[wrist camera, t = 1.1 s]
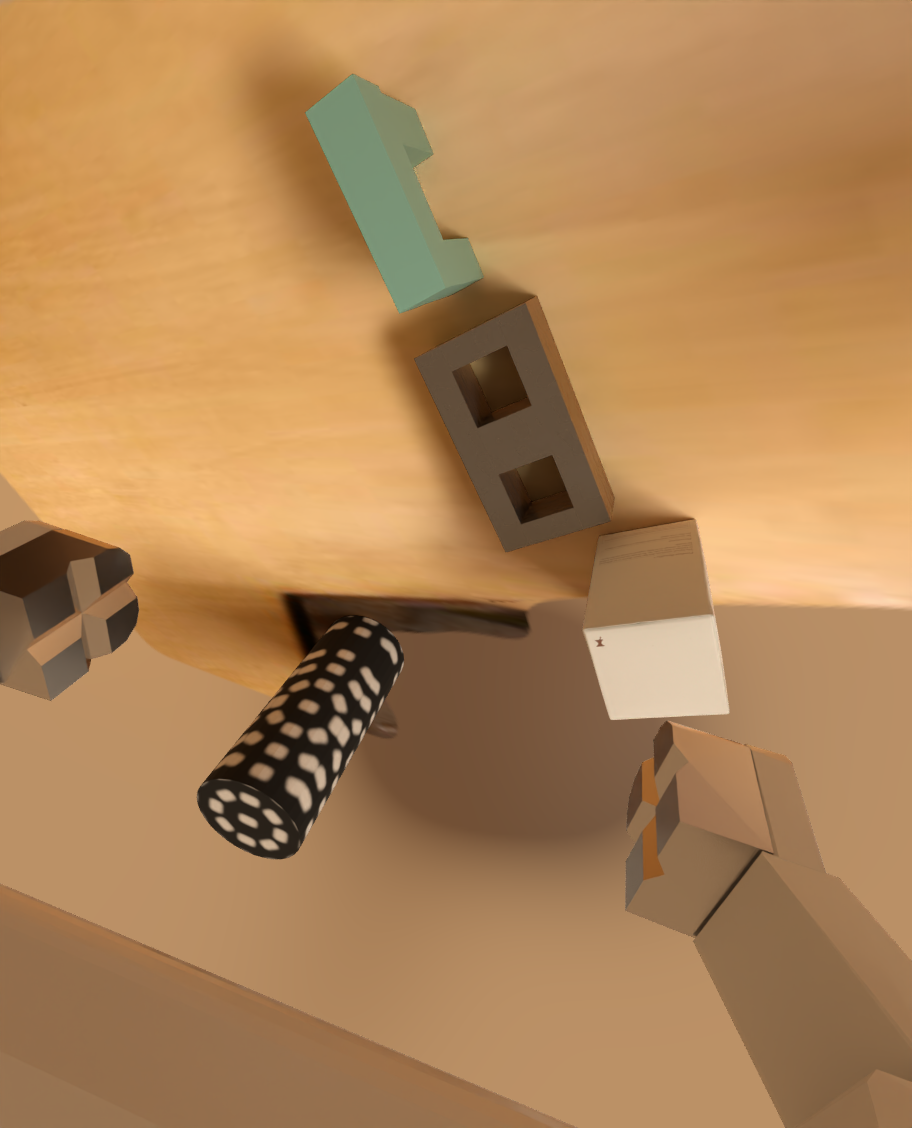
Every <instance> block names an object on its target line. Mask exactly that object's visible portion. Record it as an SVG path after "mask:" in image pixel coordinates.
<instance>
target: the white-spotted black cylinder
mask: <svg viewBox="0 0 912 1128" xmlns="http://www.w3.org/2000/svg"><path fill="white" fill-rule="evenodd" d="M403 663H404V656H403V651H402V648H401V646H400V644H399V642H398V640H397V639H396V638H395V637H394V635H393V634H392V633H391V632H390V631H389V630H388V629H387V628H385V627H384V626H383V625H381V624H380V623H378V622H376V621H374V620H372V619H369V618H366V617H361V616H347V617H343V618H340V619H338V620H336V621H335V622H334V623H333V624H332V625H331V626H330V628H329V629H328V630H327V631H326V633H325V634H324V635H323V636H322V637H321V639H320V640H319V641H318V642H317V644H316V645H315V646H314V647H313V648H312V650H311V651H310V652H309V653H308V655H307V656H306V657H305V658H304V660H303V661H302V662H301V663H300V664H299V666H298V667H297V668H296V669H295V671H294V672H293V673H292V674H291V675H290V677H289V678H288V679H287V680H286V682H285V683H284V684H283V685H282V687H281V688H280V689H279V690H278V691H277V693H276V694H275V695H274V696H273V698H272V699H271V700H270V701H269V702H268V704H267V705H266V706H265V707H264V709H263V710H262V711H261V712H260V714H259V715H258V716H257V717H256V718H255V720H254V721H253V722H252V723H251V725H250V726H249V727H248V728H247V730H246V731H245V732H244V733H243V735H242V736H241V737H240V738H239V739H238V741H237V742H236V743H235V744H234V746H233V747H232V748H231V749H230V750H229V752H228V753H227V754H226V755H225V757H224V758H223V759H222V760H221V761H220V763H219V764H218V765H217V766H216V768H215V769H214V770H213V771H212V773H211V774H210V775H209V776H208V777H207V779H206V780H205V781H204V782H203V784H202V785H201V786H200V788H199V790H198V793H197V802H198V806H199V808H200V811H201V813H202V814H203V816H204V818H205V819H206V820H207V821H208V823H209V824H210V825H211V826H212V827H213V828H214V829H215V831H217V832H218V833H219V834H220V835H221V836H222V837H224V838H225V839H226V840H227V841H229V842H231V843H232V844H233V845H235V846H237V847H238V848H240V849H242V850H244V851H246V852H249V853H251V854H253V855H256V856H260V857H264V858H269V859H284V858H289V857H291V856H293V855H294V854H295V853H296V852H297V851H298V850H299V848H300V846H301V844H302V843H303V841H304V839H305V838H306V836H307V834H308V832H309V831H310V829H311V827H312V825H313V824H314V822H315V820H316V818H317V817H318V815H319V813H320V811H321V810H322V808H323V806H324V805H325V803H326V801H327V799H328V798H329V796H330V794H331V792H332V791H333V789H334V787H335V785H336V783H337V782H338V780H339V778H340V777H341V775H342V773H343V771H344V770H345V768H346V766H347V765H348V762H349V761H350V759H351V757H352V756H353V754H354V752H355V751H356V749H357V747H358V745H359V744H360V742H361V740H362V738H363V737H364V735H365V733H366V731H367V730H368V728H369V726H370V724H371V723H372V721H373V719H374V718H375V716H376V714H377V712H378V711H379V709H380V707H381V705H382V704H383V702H384V700H385V698H386V697H387V695H388V693H389V691H390V690H391V688H392V686H393V684H394V683H395V681H396V679H397V677H398V676H399V674H400V672H401V670H402V668H403Z"/></svg>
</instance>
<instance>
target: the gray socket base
mask: <svg viewBox="0 0 912 1128" xmlns="http://www.w3.org/2000/svg"><path fill="white" fill-rule="evenodd" d="M505 346H507V347H508V349H509V352H510V354H511V357H512V359H513V361H514V364H515V366H516V369H517V371H518V373H519V376H520V378H521V381H522V383H523V386H524V388H525V390H526V393H527V395H528V397H527V398H524V399H522V400H520V401H517V402H515V403H513V404H510V405H508V406H506V407H503V408H501V409H498V410H496V411H494V412H491V410H490V408H489V406H488V403H487V401H486V399H485V397H484V394H483V392H482V390H481V388H480V385H479V383H478V381H477V378H476V376H475V374H474V372H473V369H472V367H471V365H470V363H471V362H473V361H476V360H478V359H480V358H482V357H484V356H486V355H488V354H490V353H492V352H494V351H497V350H499V349H501V348H503V347H505ZM414 360H415V362H416V364H417V366H418V368H419V370H420V372H421V375H422V377H423V379H424V381H425V383H426V385H427V387H428V389H429V391H430V394H431V396H432V398H433V400H434V402H435V404H436V406H437V408H438V410H439V413H440V415H441V417H442V419H443V421H444V423H445V425H446V427H447V429H448V432H449V434H450V436H451V438H452V440H453V442H454V444H455V446H456V448H457V451H458V453H459V455H460V457H461V459H462V461H463V463H464V465H465V467H466V470H467V472H468V474H469V476H470V478H471V480H472V482H473V484H474V486H475V489H476V491H477V493H478V495H479V497H480V499H481V501H482V503H483V505H484V508H485V510H486V512H487V514H488V516H489V518H490V520H491V522H492V524H493V527H494V529H495V531H496V533H497V535H498V537H499V539H500V541H501V543H502V546H503V548H504V550H505V552H509V551H512V550H516V549H519V548H522V547H526V546H529V545H532V544H536V543H539V542H542V541H546V540H549V539H553V538H556V537H559V536H563V535H566V534H569V533H573V532H576V531H580V530H583V529H586V528H590V527H593V526H596V525H600V524H603V523H606V522H610V521H611V518H612V512H613V505H614V499H615V498H614V495H613V493H612V490H611V487H610V485H609V482H608V480H607V477H606V474H605V472H604V469H603V467H602V464H601V461H600V459H599V456H598V454H597V451H596V448H595V446H594V443H593V440H592V438H591V435H590V433H589V430H588V427H587V425H586V422H585V420H584V417H583V414H582V412H581V409H580V407H579V404H578V401H577V399H576V396H575V394H574V391H573V388H572V386H571V383H570V380H569V378H568V375H567V373H566V370H565V367H564V365H563V362H562V360H561V357H560V354H559V352H558V349H557V347H556V344H555V341H554V339H553V336H552V333H551V331H550V328H549V326H548V323H547V320H546V318H545V315H544V313H543V310H542V307H541V305H540V302H539V300H538V297H537V296H536V297H534V298H532V299H530V300H528V301H526V302H524V303H522V304H520V305H518V306H516V307H514V308H512V309H510V310H508V311H506V312H504V313H502V314H500V315H498V316H496V317H494V318H492V319H490V320H488V321H486V322H484V323H482V324H480V325H478V326H476V327H474V328H472V329H470V330H468V331H466V332H464V333H462V334H460V335H458V336H456V337H454V338H453V339H451V340H449V341H447V342H445V343H443V344H441V345H439V346H437V347H435V348H433V349H431V350H429V351H427V352H425V353H424V354H422V355H420V356H418V357H416V358H415V359H414ZM551 455H552V456H553V458H554V461H555V463H556V465H557V468H558V470H559V473H560V475H561V478H562V480H563V482H564V485H565V487H566V491H563V492H560V493H557V494H554V495H551V496H548V497H545V498H542V499H539V500H536V501H533V502H531V501H530V499H529V496H528V494H527V492H526V490H525V487H524V485H523V483H522V481H521V478H520V476H519V474H518V472H517V469H516V468H518V467H521V466H523V465H526V464H529V463H532V462H534V461H537V460H540V459H543V458H545V457H548V456H551Z"/></svg>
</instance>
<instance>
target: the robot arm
mask: <svg viewBox="0 0 912 1128" xmlns="http://www.w3.org/2000/svg"><path fill="white" fill-rule="evenodd" d="M133 574H134V572H133V567H132V562H131V558H130V554H128V553H127V552H125V551H124V550H122V549H121V548H119V547H116V546H113V545H110V544H107V543H104V542H101V541H98V540H95V539H93V538H90V537H87V536H84V535H81V534H78V533H75V532H72V531H69V530H66V529H65V530H64V529H61V528H59V527H56V526H53V525H50V524H47V523H44V522H41V521H23V522H20V523H18V524H16V525H13V526H11V527H9V528H7V529H5V530H3V531H0V684H1V685H4V686H7V687H10V688H13V689H16V690H19V691H22V692H25V693H28V694H32V695H34V696H37V697H40V698H44V699H47V700H50V701H51V700H52V699H54V698H55V697H56V696H58V695H59V694H60V693H61V692H63V691H64V690H65V689H67V688H68V687H69V686H70V685H72V684H73V683H74V682H76V681H77V680H78V679H79V678H81V677H82V676H83V675H84V674H86V673H87V672H88V671H89V666H90V662H91V659H93V658H96V657H100V656H103V655H107V654H110V653H112V652H113V651H115V650H116V649H117V648H118V647H120V646H121V645H122V644H123V643H124V642H125V641H126V640H127V639H128V637H129V635H130V634H131V632H132V630H133V629H134V627H135V626H136V623H137V618H138V613H139V607H138V599H137V596H136V595H135V593H134V592H133V590H132V589H131V587H130V586H129V585H128V583H127V581H128V580H129V579H130V577H131V576H132V575H133ZM653 741H654V757H653V758H651V759H649V760H647V761H645V762H642V764H641V766H640V768H639V770H638V773H637V775H636V777H635V779H634V782H633V786H632V789H631V793H630V796H629V803H628V810H627V829H626V831H627V832H628V834H629V836H630V837H631V839H632V841H633V842H634V844H635V845H634V848H633V849H632V851H631V853H630V855H629V857H628V858H627V860H626V907H625V908H626V909H625V910H626V911H628V912H631V913H633V914H636V915H638V916H640V917H643V918H645V919H648V920H651V921H653V922H656V923H658V924H661V925H663V926H666V927H668V928H671V929H673V930H676V931H678V932H681V933H684V934H686V935H688V936H691V937H694V938H695V939H694V941H693V942H694V944H695V946H696V948H697V950H698V952H699V954H700V956H701V958H702V960H703V962H704V964H705V966H706V968H707V970H708V972H709V974H710V976H711V978H712V980H713V982H714V984H715V986H716V988H717V990H718V992H719V994H720V996H721V998H722V1000H723V1002H724V1005H725V1007H726V1009H727V1011H728V1013H729V1015H730V1016H731V1019H732V1021H733V1023H734V1025H735V1027H736V1029H737V1031H738V1033H739V1035H740V1036H741V1039H742V1041H743V1043H744V1045H745V1047H746V1049H747V1051H748V1053H749V1055H750V1057H751V1059H752V1061H753V1063H754V1065H755V1067H756V1069H757V1071H758V1073H759V1075H760V1077H761V1079H762V1081H763V1083H764V1085H765V1087H766V1089H767V1091H768V1093H769V1095H770V1097H771V1099H772V1101H773V1103H774V1105H775V1107H776V1109H777V1112H778V1114H779V1115H780V1118H781V1120H782V1122H783V1124H784V1126H785V1128H912V961H911V960H910V959H909V957H908V956H907V955H906V954H905V953H904V952H903V950H902V949H901V948H900V947H899V946H898V945H897V944H896V942H895V941H894V940H893V939H892V938H891V937H890V935H889V934H888V933H887V932H886V931H885V930H884V929H883V928H882V926H881V925H880V924H879V923H878V922H877V920H876V919H875V918H874V917H873V916H872V915H871V914H870V912H869V911H868V910H867V909H866V908H865V907H864V905H863V904H862V903H861V902H860V901H859V900H858V899H857V897H856V896H855V895H854V894H853V893H852V892H851V891H850V889H849V888H848V887H847V886H846V885H845V884H844V883H843V881H842V880H841V879H840V878H838V877H835V876H833V875H830V874H827V873H826V872H825V868H824V865H823V862H822V859H821V856H820V852H819V849H818V846H817V843H816V839H815V836H814V833H813V829H812V826H811V823H810V820H809V816H808V813H807V810H806V807H805V803H804V800H803V797H802V794H801V790H800V787H799V784H798V781H797V777H796V774H795V771H794V768H793V764H792V762H791V761H790V760H789V759H788V758H787V757H786V756H785V755H782V754H778V753H775V752H772V751H768V750H765V749H761V748H758V747H755V746H751V745H748V744H744V745H743V744H741V743H738V742H735V741H732V740H728V739H725V738H722V737H719V736H715V735H712V734H709V733H706V732H703V731H699V730H696V729H693V728H690V727H686V726H683V725H679V724H677V723H673V722H670V721H666V722H665V723H664V724H663V725H662V726H661V727H660V729H659V731H658V733H657V734H656V736H655V738H654V740H653ZM0 1128H577V1127H575V1126H572V1125H570V1124H567V1123H565V1122H563V1121H560V1120H558V1119H556V1118H553V1117H551V1116H549V1115H546V1114H544V1113H541V1112H539V1111H537V1110H534V1109H532V1108H530V1107H527V1106H525V1105H523V1104H520V1103H518V1102H516V1101H513V1100H511V1099H508V1098H506V1097H504V1096H501V1095H499V1094H497V1093H494V1092H492V1091H489V1090H487V1089H485V1088H482V1087H480V1086H478V1085H475V1084H473V1083H471V1082H468V1081H466V1080H464V1079H461V1078H459V1077H456V1076H454V1075H452V1074H449V1073H447V1072H445V1071H442V1070H440V1069H437V1068H435V1067H433V1066H430V1065H428V1064H426V1063H423V1062H421V1061H419V1060H416V1059H414V1058H412V1057H409V1056H407V1055H405V1054H402V1053H400V1052H397V1051H395V1050H393V1049H390V1048H388V1047H385V1046H383V1045H381V1044H379V1043H376V1042H374V1041H371V1040H369V1039H367V1038H364V1037H362V1036H359V1035H357V1034H355V1033H353V1032H350V1031H348V1030H345V1029H343V1028H341V1027H338V1026H336V1025H334V1024H331V1023H329V1022H327V1021H324V1020H322V1019H319V1018H317V1017H315V1016H312V1015H310V1014H307V1013H305V1012H303V1011H300V1010H298V1009H296V1008H293V1007H291V1006H288V1005H286V1004H284V1003H282V1002H279V1001H277V1000H274V999H272V998H270V997H267V996H265V995H263V994H260V993H258V992H256V991H253V990H251V989H248V988H246V987H244V986H242V985H239V984H237V983H234V982H232V981H230V980H227V979H225V978H222V977H220V976H218V975H216V974H213V973H211V972H208V971H206V970H203V969H201V968H199V967H197V966H194V965H191V964H190V963H187V962H184V961H182V960H180V959H178V958H175V957H173V956H170V955H168V954H166V953H163V952H161V951H159V950H156V949H154V948H151V947H149V946H147V945H144V944H142V943H140V942H137V941H135V940H133V939H130V938H128V937H126V936H123V935H121V934H119V933H116V932H114V931H112V930H109V929H107V928H104V927H102V926H100V925H97V924H95V923H93V922H90V921H88V920H86V919H83V918H81V917H78V916H76V915H74V914H71V913H69V912H66V911H64V910H62V909H60V908H57V907H55V906H52V905H50V904H48V903H45V902H43V901H40V900H38V899H36V898H33V897H31V896H29V895H26V894H24V893H22V892H19V891H17V890H14V889H12V888H10V887H8V886H5V885H3V884H0Z"/></svg>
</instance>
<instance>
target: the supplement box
mask: <svg viewBox="0 0 912 1128" xmlns="http://www.w3.org/2000/svg"><path fill="white" fill-rule="evenodd" d="M582 631H583V634H584V637H585V640H586V643H587V646H588V649H589V653H590V656H591V658H592V662H593V665H594V668H595V671H596V675H597V678H598V681H599V684H600V688H601V691H602V694H603V698H604V701H605V704H606V708H607V711H608V714H609V717H610V719H611V720H620V719H636V718H653V717H654V718H655V717H675V716H693V715H714V714H729V704H728V697H727V690H726V683H725V675H724V667H723V661H722V654H721V648H720V642H719V637H718V631H717V626H716V619H715V614H714V608H713V601H712V596H711V590H710V584H709V578H708V573H707V567H706V562H705V557H704V552H703V547H702V542H701V537H700V532H699V528H698V524H697V521H696V520H695V519H693V520H687V521H681V522H675V523H670V524H664V525H659V526H653V527H647V528H642V529H636V530H631V531H625V532H620V533H614V534H609V535H603V536H599V538H598V543H597V549H596V555H595V560H594V566H593V572H592V577H591V583H590V588H589V594H588V600H587V606H586V611H585V617H584V622H583V627H582Z"/></svg>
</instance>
